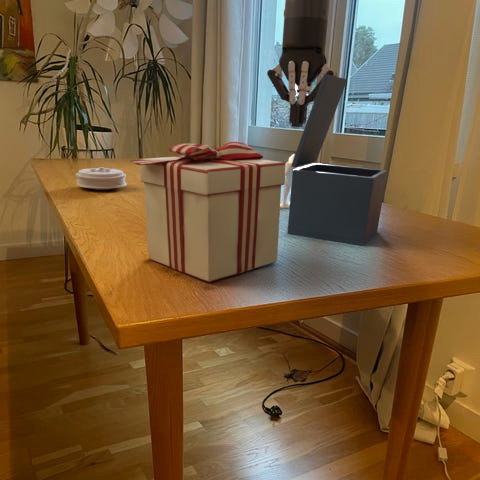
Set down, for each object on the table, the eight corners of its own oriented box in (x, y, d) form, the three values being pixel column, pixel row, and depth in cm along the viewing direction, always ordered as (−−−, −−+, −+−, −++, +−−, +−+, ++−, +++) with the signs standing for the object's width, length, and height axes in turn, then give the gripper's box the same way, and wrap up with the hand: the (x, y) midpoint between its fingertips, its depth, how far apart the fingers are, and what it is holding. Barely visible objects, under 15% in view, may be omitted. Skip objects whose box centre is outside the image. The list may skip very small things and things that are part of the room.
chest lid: (347, 79, 88) (343, 78, 88) (328, 75, 77) (323, 73, 78) (316, 161, 96) (312, 160, 96) (294, 167, 85) (290, 166, 86)
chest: (377, 231, 95) (387, 170, 90) (363, 246, 85) (373, 178, 80) (308, 221, 101) (314, 163, 96) (287, 233, 91) (292, 169, 86)
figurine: (289, 203, 118) (293, 152, 113) (303, 206, 115) (308, 154, 110) (272, 207, 113) (276, 153, 107) (287, 210, 110) (292, 155, 105)
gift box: (199, 238, 85) (199, 135, 78) (283, 262, 74) (293, 145, 67) (120, 258, 73) (113, 138, 66) (208, 290, 62) (210, 151, 55)
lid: (66, 188, 122) (64, 168, 120) (97, 182, 133) (96, 163, 131) (107, 194, 118) (105, 173, 116) (136, 187, 129) (135, 168, 127)
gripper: (349, 20, 82) (336, 128, 89) (278, 22, 87) (272, 124, 94) (337, 13, 76) (325, 129, 83) (262, 15, 81) (256, 125, 88)
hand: (297, 126), depth 89 cm, fingers closed
